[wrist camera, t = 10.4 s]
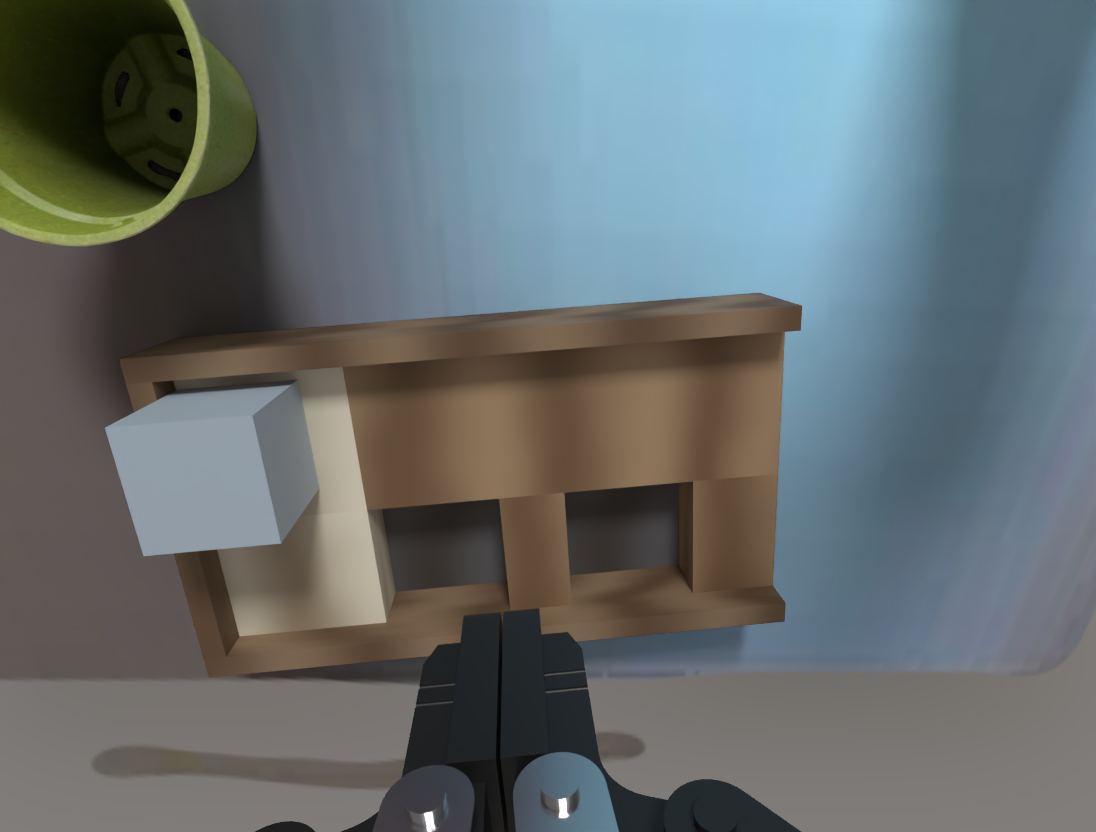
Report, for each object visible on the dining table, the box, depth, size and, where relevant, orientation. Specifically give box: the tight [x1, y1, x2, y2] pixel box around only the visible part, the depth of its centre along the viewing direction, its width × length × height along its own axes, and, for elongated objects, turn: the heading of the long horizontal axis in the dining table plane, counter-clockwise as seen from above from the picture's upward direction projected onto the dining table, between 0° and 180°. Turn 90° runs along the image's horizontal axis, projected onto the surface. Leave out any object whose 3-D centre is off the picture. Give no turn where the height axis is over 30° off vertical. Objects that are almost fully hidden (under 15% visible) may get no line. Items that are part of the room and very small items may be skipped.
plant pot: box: [0, 0, 257, 246], centre depth 22 cm, size 9×9×9 cm
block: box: [105, 380, 319, 556], centre depth 25 cm, size 5×5×5 cm
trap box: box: [119, 293, 802, 677], centre depth 29 cm, size 27×15×4 cm, turn 94°
